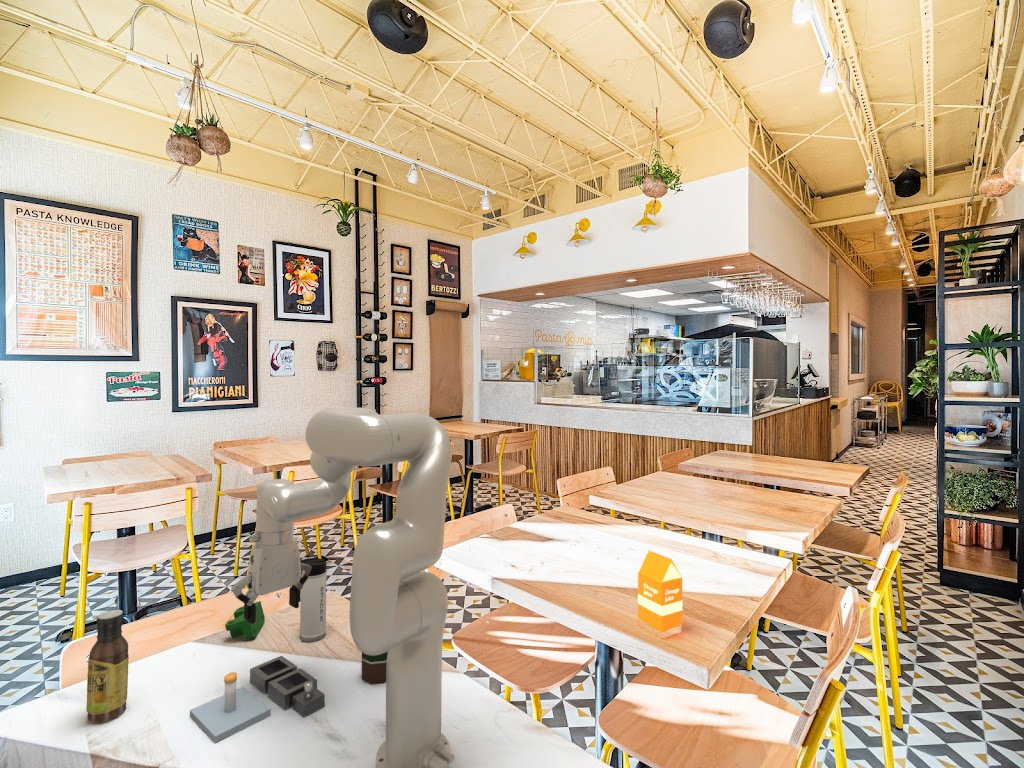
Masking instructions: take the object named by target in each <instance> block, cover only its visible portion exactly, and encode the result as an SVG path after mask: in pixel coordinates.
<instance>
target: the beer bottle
mask: <svg viewBox="0 0 1024 768" xmlns="http://www.w3.org/2000/svg"><path fill="white" fill-rule="evenodd" d="M387 654H388V652H386V653H383V654H380V655H375V656H372V655H367V654H364V653H363V652H361V679H362V681H364V682H366V683H368V684H370V685H374V684H383V683H384V682H385V683H386V664H387Z"/></svg>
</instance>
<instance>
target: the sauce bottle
mask: <svg viewBox="0 0 1024 768" xmlns="http://www.w3.org/2000/svg"><path fill="white" fill-rule="evenodd" d="M123 619H124V611H123V610H121V609H113V610H107V611H104V612H102V613H100V614H99V615H98V616H97V617H96V625H97V636H96V638H97V639H96V642H95V643H94V644H93V646H92V647H91V649H90V651H89V656H88V659H87V660H88V661H87V680H86V681H87V685H86V705H85V706H86V713H87V716H86V717H87V720H88V722H89V723H96V724H100V723H106V722H109V721H111V720H114V719H116V718H118V717H120V716H121V715H122V714H123V713H124V712H125V711H126V709H127V700H128V688H129V687H128V685H129V655H130V654H129V643H128V640H127V639H126V638H125V637H124V636H123V634H122V632H123V630H122V628H123V626H122V624H123Z"/></svg>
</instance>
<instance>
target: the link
mask: <svg viewBox="0 0 1024 768" xmlns="http://www.w3.org/2000/svg"><path fill="white" fill-rule="evenodd" d="M307 681H312V682H313V686H314V687H315V688H317V689H318V678H316V677H314V676H313V675H311V674H310V673H308V672H307V671H306V670H303V669H302V668H301V667H300V668H299V667H298V668H297V670H295V671H292V672H290V673H288V674H286V675H284V676H281V677H279V678H277V679H275V680H273V681H270V682H268V694H267V697H268V699H269V700H271V701H272V702H273V703H274V704H276V705H277V706H278V707H280V708H281V709H282V710H283V711H286V710H288V709H292V696H294V695H296V694H298V693H300V692H302V691H304V684H305V683H306V682H307Z"/></svg>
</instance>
